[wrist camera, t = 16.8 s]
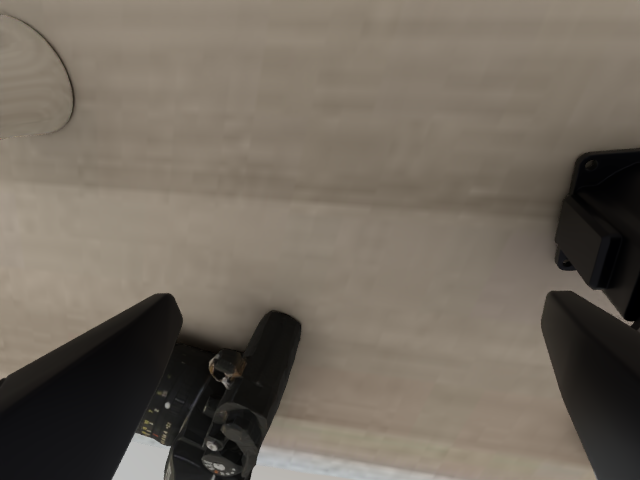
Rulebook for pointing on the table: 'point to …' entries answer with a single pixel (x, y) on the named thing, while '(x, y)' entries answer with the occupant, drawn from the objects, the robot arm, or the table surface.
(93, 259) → the table surface
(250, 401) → the film camera
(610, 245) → the robot arm
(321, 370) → the table surface
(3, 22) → the metal tumbler
